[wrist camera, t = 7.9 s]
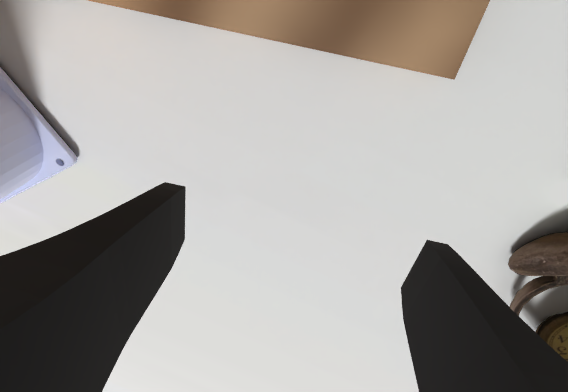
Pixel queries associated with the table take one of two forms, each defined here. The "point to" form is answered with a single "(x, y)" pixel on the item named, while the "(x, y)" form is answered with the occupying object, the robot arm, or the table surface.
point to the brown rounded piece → (544, 283)
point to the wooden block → (343, 26)
